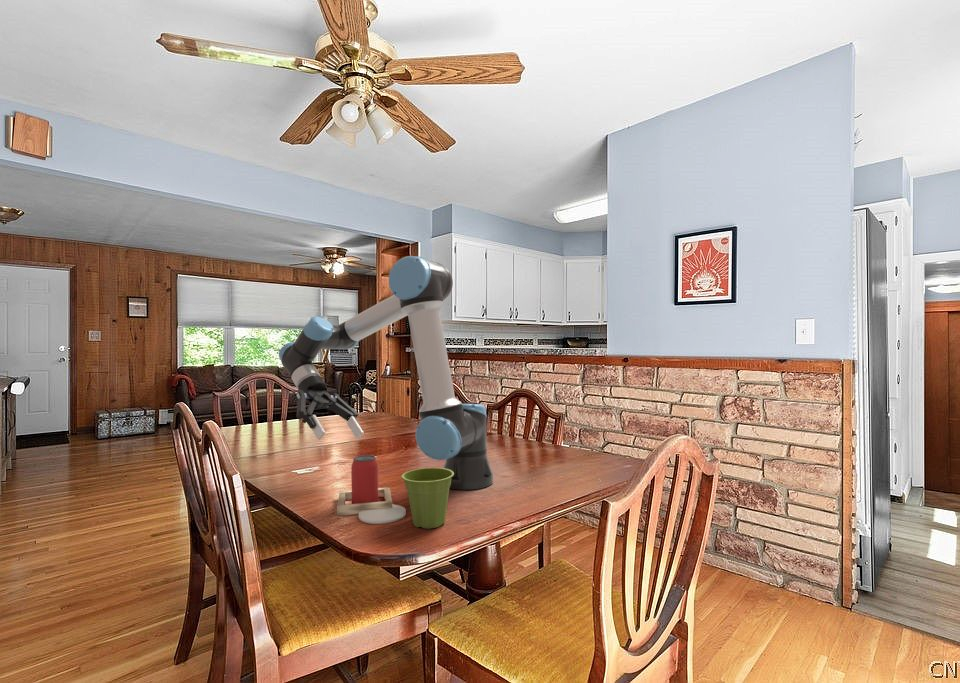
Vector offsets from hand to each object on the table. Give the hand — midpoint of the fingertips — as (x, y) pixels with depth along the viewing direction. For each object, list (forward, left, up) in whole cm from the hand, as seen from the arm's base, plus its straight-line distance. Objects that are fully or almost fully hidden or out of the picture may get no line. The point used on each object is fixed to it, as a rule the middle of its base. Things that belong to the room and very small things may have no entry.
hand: (341, 436), depth 134 cm
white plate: (-10, +20, -16) cm, 27 cm away
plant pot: (-20, +28, -16) cm, 38 cm away
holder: (-6, +11, -16) cm, 20 cm away
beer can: (-6, +11, -16) cm, 20 cm away
